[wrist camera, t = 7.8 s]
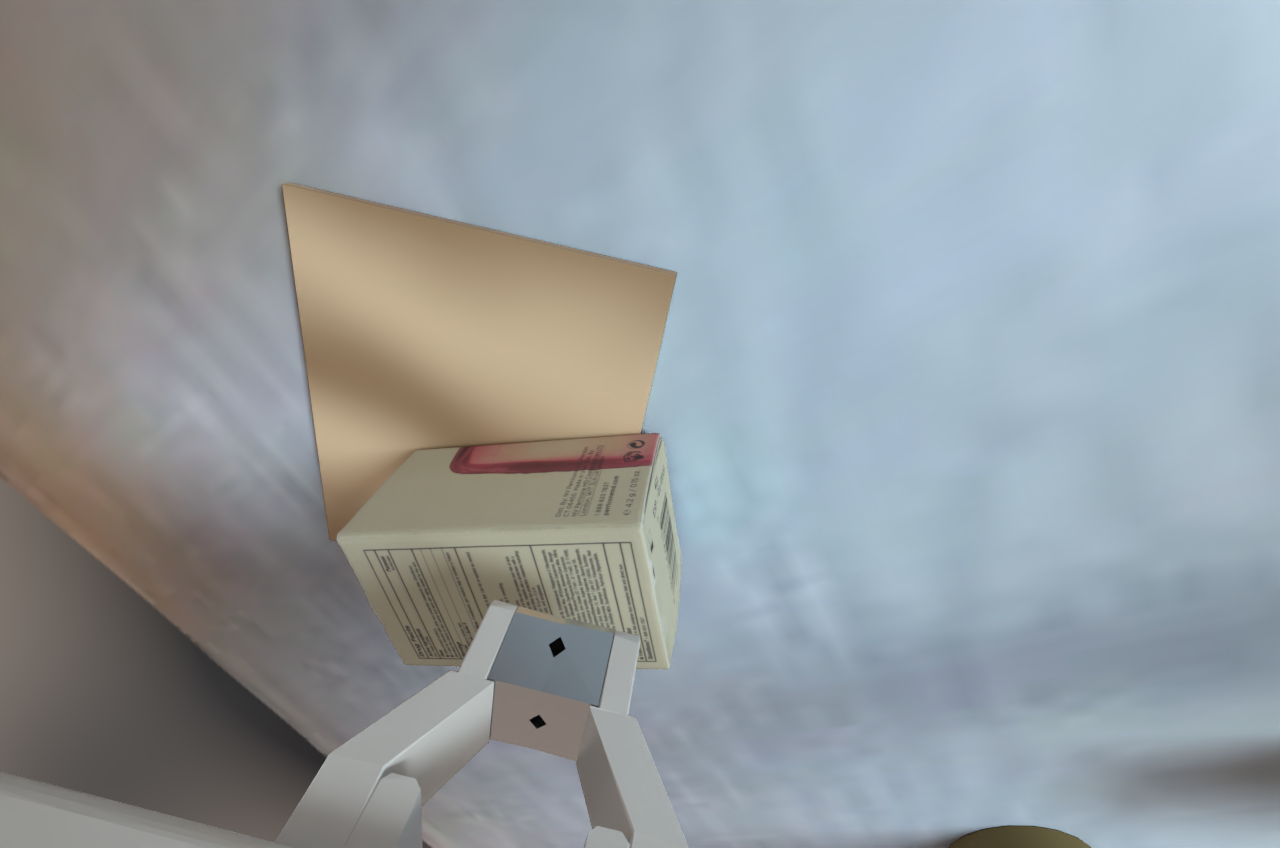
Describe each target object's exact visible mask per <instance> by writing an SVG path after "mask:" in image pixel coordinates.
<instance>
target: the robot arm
mask: <svg viewBox="0 0 1280 848" xmlns="http://www.w3.org/2000/svg"><path fill="white" fill-rule="evenodd" d="M614 631H615V629H611V628H607V627H603V626H599V625H594V624H590V623H586V622H581V621H577V620H573V619H568V618H567V619H564V618H560V617H557V616H553V615H550V614H546V613H542V612H539V611H535V610H532V609H528V608H524V607H521V606H517V605H513V604H509V603H506V602H502V601H498V600H493V602H492V603H491V604H490V605H489V607H488V609H487V611H486V613H485V615H484V617H483V619H482V621H481V624H480V626H479V628H478V630H477V632H476V634H475V636H474V638H473V640H472V642H471V644H470V646H469V649H468V651H467V653H466V655H465V657H464V659H463V661H462V663H461V665H460V667H459V669H458V671H457V672H455V671H451V670H449V671H448V672H447V673H445V674H444V675H442V676H441V677H439V678H438V679H436V680H435V681H434V682H432V683H431V684H429V685H428V686H426V687H425V688H424V689H422V690H421V691H419V692H418V693H416V694H415V695H413V696H412V697H411V698H409V699H408V700H406V701H405V702H403V703H402V704H400V705H399V706H398V707H396V708H395V709H393V710H392V711H390V712H389V713H387V714H386V715H385V716H383V717H382V718H380V719H379V720H377V721H376V722H374V723H373V724H372V725H370V726H369V727H367V728H366V729H364V730H363V731H362V732H360V733H359V734H357V735H356V736H354V737H353V738H351V739H350V740H349V741H347V742H346V743H344V744H343V745H341V746H340V747H338V748H337V749H336V750H334V751H333V752H331V753H330V754H329V755H328V757H327V759H326V760H325V762H324V764H323V765H322V767H321V768H320V770H319V772H318V773H317V775H316V776H315V778H314V780H313V781H312V783H311V784H310V786H309V788H308V789H307V791H306V793H305V794H304V796H303V797H302V799H301V801H300V802H299V804H298V805H297V807H296V809H295V810H294V812H293V814H292V815H291V817H290V818H289V820H288V822H287V823H286V825H285V826H284V828H283V830H282V831H281V833H280V835H279V836H278V838H277V839H276V841H275V843H273V842H270V841H265V840H262V839H258V838H254V837H250V836H246V835H243V834H239V833H235V832H231V831H228V830H224V829H220V828H216V827H212V826H208V825H204V824H201V823H197V822H193V821H189V820H185V819H181V818H178V817H173V816H170V815H166V814H163V813H159V812H155V811H151V810H147V809H143V808H140V807H136V806H132V805H128V804H124V803H120V802H116V801H113V800H108V799H105V798H101V797H98V796H94V795H90V794H86V793H82V792H78V791H74V790H71V789H66V788H63V787H59V786H55V785H51V784H48V783H44V782H40V781H36V780H32V779H29V778H25V777H21V776H17V775H13V774H10V773H6V772H2V771H0V848H422V821H421V807H422V806H423V805H424V804H425V803H426V802H427V801H428V800H429V799H430V798H431V797H432V796H433V795H434V794H435V793H436V792H437V791H438V790H439V789H440V788H441V787H442V786H444V785H445V784H446V783H447V782H448V781H449V780H450V779H451V778H452V777H453V776H454V775H455V774H456V773H457V772H458V771H459V770H460V769H461V768H462V767H463V766H464V765H466V764H467V763H468V762H469V761H470V760H471V759H472V758H473V757H474V756H475V755H476V754H477V753H478V752H479V751H480V750H481V749H482V748H483V747H484V746H485V745H486V744H488V743H489V739H492V740H496V741H501V742H505V743H510V744H514V745H519V746H523V747H528V748H532V749H533V748H534V749H536V750H539V751H543V752H546V753H550V754H553V755H557V756H560V757H564V758H567V759H571V760H574V761H576V766H577V770H578V774H579V778H580V782H581V786H582V790H583V794H584V798H585V802H586V806H587V810H588V814H589V818H590V822H591V826H592V830H591V831H590V832H589V833H588V835H587V839H586V842H585V845H584V848H689V847H688V844H687V842H686V839H685V837H684V835H683V832H682V830H681V827H680V825H679V822H678V820H677V817H676V815H675V812H674V810H673V808H672V805H671V803H670V800H669V798H668V795H667V793H666V790H665V788H664V786H663V783H662V781H661V778H660V776H659V773H658V771H657V768H656V766H655V763H654V761H653V759H652V756H651V754H650V751H649V749H648V746H647V744H646V741H645V739H644V737H643V734H642V732H641V729H640V727H639V724H638V722H637V719H636V717H633V716H630V715H628V713H629V707H630V701H631V695H632V689H633V683H634V677H635V671H636V665H637V659H638V653H639V647H640V636H638V635H633V634H629V633H625V632H621V631H617V630H616V631H615V632H614Z"/></svg>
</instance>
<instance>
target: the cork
mask: <svg viewBox="0 0 1280 848" xmlns="http://www.w3.org/2000/svg"><path fill="white" fill-rule="evenodd" d="M949 848H1091V847H1090V846H1089V845H1087V844H1086V843H1084V842H1083V841H1082V840H1080V839H1079V838H1077V837H1075V836H1072V835H1069V834H1066V833H1064V832H1061V831H1058V830H1053V829H1047V828H1041V827H1035V826H1004V827H997V828H990V829H984V830H981V831H978V832H975V833H972V834H969V835H965V836H964V837H962V838H961V839H959V840H957V841H956V842H954V843H953V844H951V845H950V847H949Z"/></svg>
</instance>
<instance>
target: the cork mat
mask: <svg viewBox="0 0 1280 848" xmlns="http://www.w3.org/2000/svg"><path fill="white" fill-rule="evenodd" d="M282 188H283V195H284V203H285V210H286V218H287V225H288V232H289V240H290V247H291V255H292V262H293V270H294V277H295V285H296V292H297V300H298V307H299V315H300V322H301V329H302V337H303V344H304V352H305V359H306V367H307V374H308V382H309V389H310V397H311V404H312V411H313V419H314V426H315V434H316V441H317V449H318V456H319V464H320V471H321V479H322V486H323V494H324V501H325V508H326V516H327V523H328V531H329V538H330V540H333V541H337V534H338V533H339V532H340V531H341V530H342V529H343V528H344V527H345V526H346V525H347V523H348V522H349V521H350V520H351V519H352V518H353V517H354V516H355V514H356V513H357V512H358V511H359V510H360V509H361V507H362V506H363V505H364V504H365V503H366V502H367V501H368V500H369V499H370V498H371V496H373V494H374V493H375V492H376V491H377V490H378V489H379V488H380V487H381V486H382V485H383V483H384V482H385V481H386V480H387V479H388V478H389V477H390V476H391V475H392V474H393V473H394V472H395V471H396V470H397V469H398V468H399V467H400V466H401V465H402V464H403V463H404V462H405V461H406V460H407V459H408V458H409V457H410V456H411V455H412V453H413V452H415V451H416V450H426V449H440V448H454V447H470V446H484V445H497V444H510V443H526V442H541V441H551V440H567V439H581V438H596V437H609V436H623V435H637V434H641V430H642V425H643V421H644V417H645V412H646V408H647V403H648V399H649V395H650V390H651V386H652V381H653V377H654V373H655V368H656V364H657V359H658V355H659V351H660V346H661V342H662V337H663V333H664V329H665V324H666V320H667V315H668V311H669V307H670V302H671V298H672V293H673V289H674V284H675V280H676V276H677V272H675V271H670V270H666V269H662V268H657V267H653V266H649V265H644V264H640V263H636V262H631V261H627V260H623V259H618V258H614V257H610V256H605V255H601V254H597V253H592V252H588V251H584V250H579V249H575V248H571V247H566V246H562V245H558V244H553V243H549V242H545V241H540V240H536V239H532V238H527V237H523V236H519V235H514V234H510V233H506V232H501V231H497V230H493V229H488V228H484V227H480V226H475V225H471V224H467V223H462V222H458V221H454V220H449V219H445V218H441V217H436V216H432V215H428V214H423V213H419V212H415V211H410V210H406V209H402V208H397V207H393V206H389V205H384V204H380V203H376V202H371V201H367V200H363V199H358V198H354V197H350V196H345V195H341V194H337V193H332V192H328V191H324V190H319V189H315V188H311V187H306V186H302V185H298V184H293V183H286V184H282ZM337 542H338V541H337Z"/></svg>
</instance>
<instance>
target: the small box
mask: <svg viewBox="0 0 1280 848" xmlns="http://www.w3.org/2000/svg"><path fill="white" fill-rule="evenodd" d="M337 541H338V544H339V545H340V547H341V548H342V550H343V552H344V554H345V556H346V558H347V560H348V562H349V563H350V565H351V567H352V569H353V571H354V573H355V575H356V577H357V578H358V580H359V583H360V585H361V586H362V588H363V590H364V592H365V595H366V597H367V599H368V602H369V604H370V606H371V608H372V610H373V612H374V613H375V614H376V616H377V617H378V619H379V620H380V622H381V623H382V625H383V626H384V629H385V631H386V633H387V634H388V636H389V638H390V640H391V641H392V643H393V645H394V647H395V649H396V650H397V652H398V654H399V656H400V658H401V659H402V661H403V663H404V664H406V665H442V666H460V665H461V663H462V661H463V659H464V657H465V655H466V653H467V651H468V649H469V646H470V644H471V642H472V640H473V638H474V636H475V634H476V632H477V630H478V628H479V626H480V624H481V621H482V619H483V617H484V615H485V613H486V611H487V609H488V607H489V605H490V604H491V603H492V602H493V600H498V601H502V602H506V603H509V604H513V605H517V606H521V607H524V608H528V609H532V610H535V611H539V612H542V613H546V614H550V615H553V616H557V617H560V618H564V619H567V618H568V619H573V620H577V621H581V622H586V623H590V624H594V625H599V626H603V627H607V628H611V629H615V631H616V630H617V631H621V632H625V633H629V634H633V635H638V636H640V647H639V653H638V659H637V665H636V669H669V667H670V661H671V655H672V651H673V647H674V642H675V636H676V628H677V620H678V609H679V598H680V582H681V550H680V545H679V540H678V534H677V528H676V522H675V516H674V510H673V502H672V495H671V488H670V481H669V474H668V467H667V460H666V449H665V443H664V440H663V439H662V438H661V435H660V434H658V433H651V434H637V435H623V436H609V437H596V438H581V439H567V440H551V441H541V442H526V443H510V444H497V445H484V446H470V447H454V448H440V449H426V450H416V451H415V452H413V453H412V455H411V456H410V457H409V458H408V459H407V460H406V461H405V462H404V463H403V464H402V465H401V466H400V467H399V468H398V469H397V470H396V471H395V472H394V473H393V474H392V475H391V476H390V477H389V478H388V479H387V480H386V481H385V482H384V483H383V485H382V486H381V487H380V488H379V489H378V490H377V491H376V492H375V493H374V494H373V496H371V498H370V499H369V500H368V501H367V502H366V503H365V504H364V505H363V506H362V507H361V509H360V510H359V511H358V512H357V513H356V514H355V516H354V517H353V518H352V519H351V520H350V521H349V522H348V523H347V525H346V526H345V527H344V528H343V529H342V530H341V531H340V532H339V533H338V534H337ZM615 631H614V632H615Z"/></svg>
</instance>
